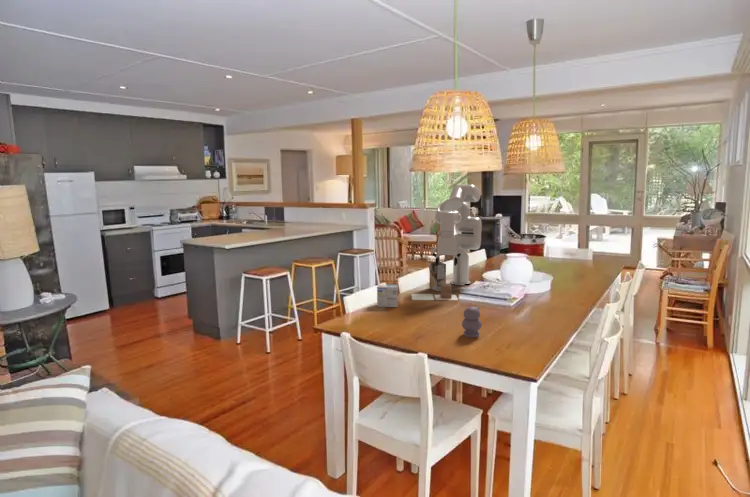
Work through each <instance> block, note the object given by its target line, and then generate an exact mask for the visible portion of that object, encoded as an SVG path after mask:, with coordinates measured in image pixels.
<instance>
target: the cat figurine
mask: <svg viewBox="0 0 750 497" xmlns="http://www.w3.org/2000/svg"><path fill="white" fill-rule="evenodd" d="M480 308H481V306H468V307H466V308H465V309H464V310H463V317H464V318H463V320H462V322H461V326H462V328H463V329H464V330H463V336H464V337H467V338H478V337H480V331H479V330H481V328H482V325H483V324H482V321H481V320H480V316H481V312H480Z"/></svg>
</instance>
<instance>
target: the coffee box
mask: <svg viewBox="0 0 750 497" xmlns="http://www.w3.org/2000/svg"><path fill="white" fill-rule="evenodd" d="M446 282H447V263H444V262H439V261H438V265H437V264H436V261H434V262H433V261H432V262H429V289H430V290H433V291H436V292H441V284H447V283H446Z"/></svg>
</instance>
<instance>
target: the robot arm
mask: <svg viewBox="0 0 750 497" xmlns="http://www.w3.org/2000/svg"><path fill="white" fill-rule="evenodd" d="M450 192H451V193H450V195H449V198H448V199H446V200H444V201H443V202H441V203H440V204H439V205H438V207H437V209H436V212H435V214H434V215H435V216H434V220H435V222H436V223H437V224H439V225H440V226H439V227H440V228H439V231H437V233H436V234H437V235H439V236H438V239H437V246H436V247H434V248H432V249H430V252H431V254H432V256H433V257H434V258H435V262H436V264H437V265H438V262H439V257H440V256H453V257H452V259H453V264H452V280H450V283H449V284H451V285H453V284H455V285H454V286H464V285H463V284H469V283H472V282H471V281H470V280H469V266H470V265H469V263H470V262H469V258H470V257H469V254H468V252H467V251H466V250H469V251H470V250H473V251H475V250H476V251H477V250H479V249H480V248H481V244H482V227H483V225H482V224H483V222H482V219H481V218H480V217H477V216H471V208H470V206H469V204H467V203H477V202H479V201H480V199H481V195H482V194H481V190H480V189H479V187H477V186H476V185H474V184H456V185H454V186H453V188H452V190H451V191H450ZM455 229H456V230H457V231H458V232H461V233H455ZM471 233H473V234H471ZM435 251H436V252H437V253H435Z"/></svg>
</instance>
